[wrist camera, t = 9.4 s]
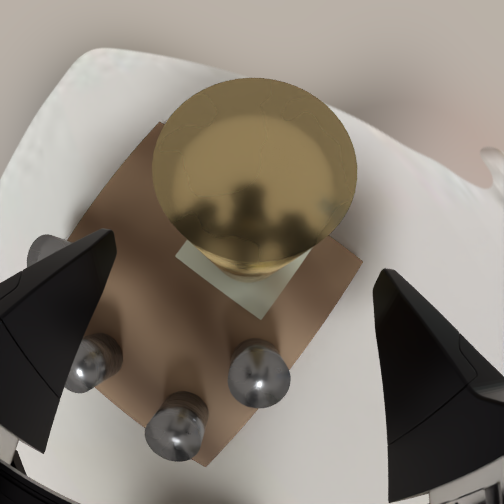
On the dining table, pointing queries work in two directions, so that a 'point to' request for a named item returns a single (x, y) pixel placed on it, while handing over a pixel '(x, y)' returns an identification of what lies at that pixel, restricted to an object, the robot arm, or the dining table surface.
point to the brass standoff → (254, 174)
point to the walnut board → (195, 305)
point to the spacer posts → (179, 403)
